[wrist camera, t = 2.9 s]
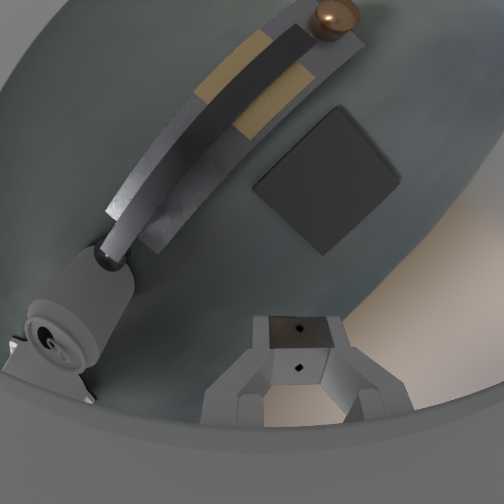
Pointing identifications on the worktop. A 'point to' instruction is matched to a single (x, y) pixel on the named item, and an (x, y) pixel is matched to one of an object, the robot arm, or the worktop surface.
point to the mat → (327, 182)
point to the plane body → (232, 140)
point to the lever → (200, 142)
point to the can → (78, 313)
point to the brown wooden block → (270, 98)
